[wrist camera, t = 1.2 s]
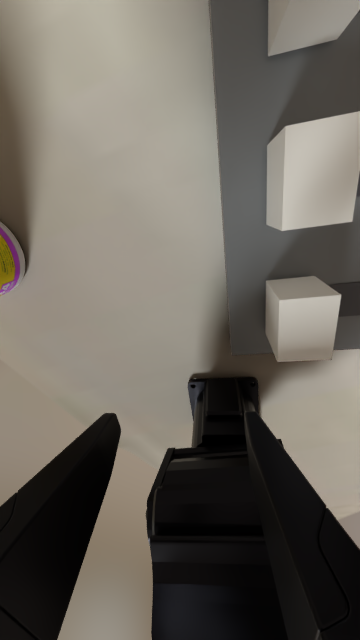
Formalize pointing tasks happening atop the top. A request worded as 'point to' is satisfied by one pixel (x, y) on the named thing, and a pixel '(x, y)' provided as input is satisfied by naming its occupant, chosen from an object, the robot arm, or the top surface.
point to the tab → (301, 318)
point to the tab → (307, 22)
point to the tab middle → (313, 173)
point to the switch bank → (251, 165)
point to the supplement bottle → (10, 261)
